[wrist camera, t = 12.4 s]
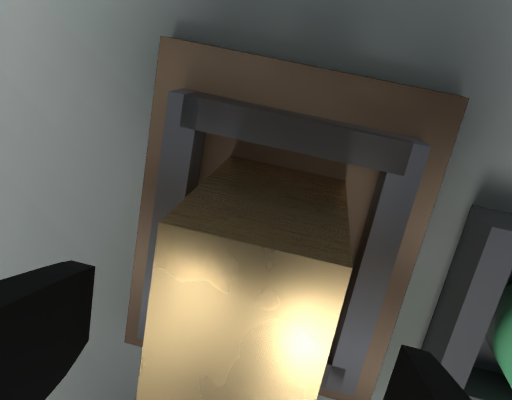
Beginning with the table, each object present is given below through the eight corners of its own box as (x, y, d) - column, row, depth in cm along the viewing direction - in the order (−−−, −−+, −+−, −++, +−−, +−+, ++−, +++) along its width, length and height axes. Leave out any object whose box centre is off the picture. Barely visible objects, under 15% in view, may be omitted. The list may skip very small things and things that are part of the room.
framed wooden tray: (366, 391, 19) (370, 437, 17) (134, 329, 20) (107, 365, 18) (461, 96, 15) (483, 102, 13) (170, 37, 16) (142, 34, 14)
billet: (313, 308, 17) (299, 462, 11) (209, 282, 18) (133, 415, 11) (345, 180, 16) (352, 268, 9) (231, 155, 16) (159, 222, 10)
